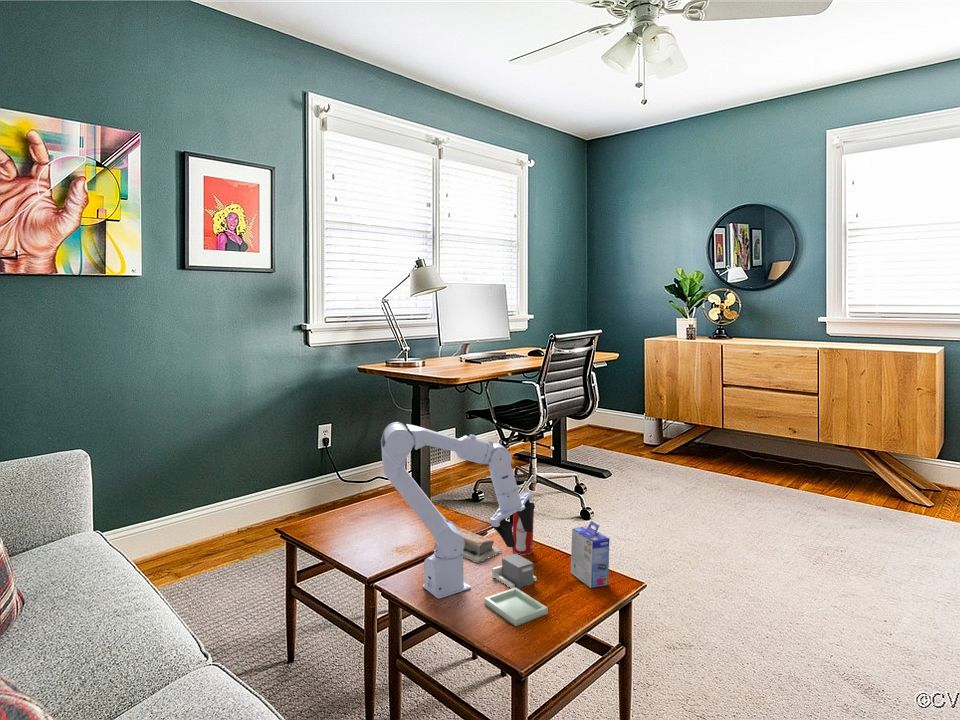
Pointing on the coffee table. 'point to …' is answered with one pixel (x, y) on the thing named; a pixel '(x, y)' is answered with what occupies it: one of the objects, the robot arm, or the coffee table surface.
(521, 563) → the grey tabbed box
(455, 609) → the coffee table surface
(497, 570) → the frame
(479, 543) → the packaged product
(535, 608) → the tray
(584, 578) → the ink cartridge box
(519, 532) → the beverage can
